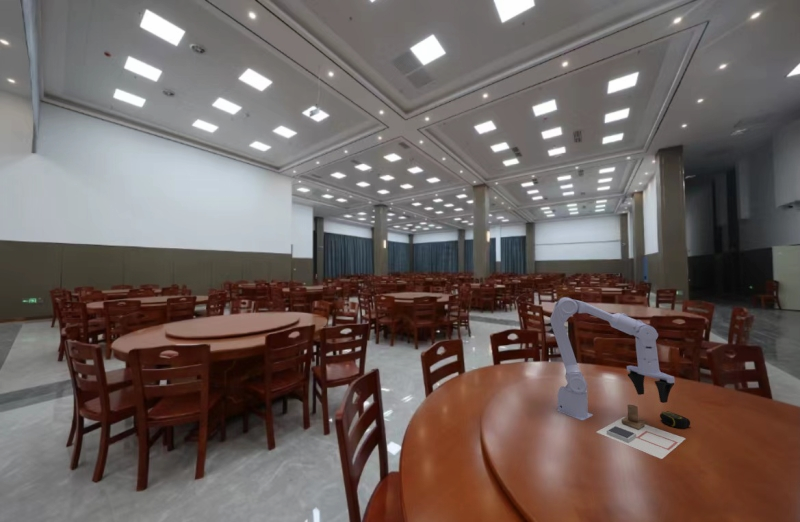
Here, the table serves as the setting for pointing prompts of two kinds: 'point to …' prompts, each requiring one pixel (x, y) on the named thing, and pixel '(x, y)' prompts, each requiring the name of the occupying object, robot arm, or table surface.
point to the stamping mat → (643, 438)
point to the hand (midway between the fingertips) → (651, 398)
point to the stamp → (633, 418)
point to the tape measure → (674, 420)
